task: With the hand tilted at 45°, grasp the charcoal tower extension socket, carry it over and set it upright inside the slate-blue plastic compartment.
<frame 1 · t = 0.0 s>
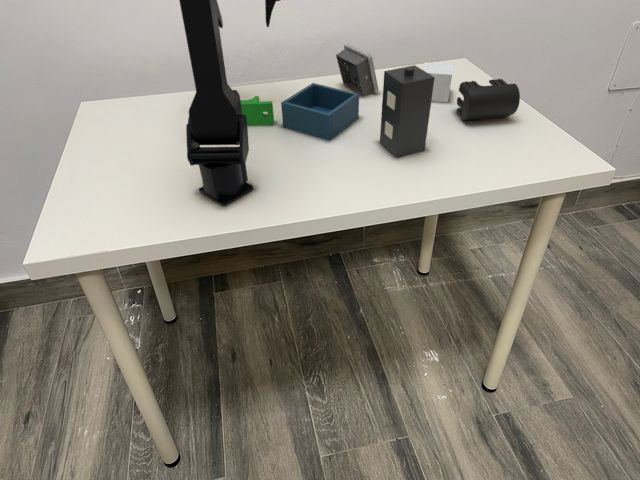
hand: (244, 26, 94), 15 cm above the table, tool pointing down, fingers open, 9 cm apart
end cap: (482, 118, 95), on the table
compartment: (321, 122, 95), on the table
electrical switch: (357, 90, 107), on the table
white cube: (434, 96, 104), on the table
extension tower: (401, 146, 87), on the table
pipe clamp: (247, 122, 97), on the table
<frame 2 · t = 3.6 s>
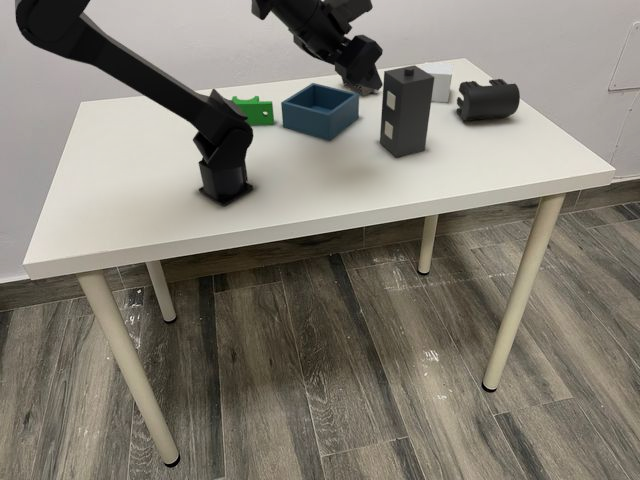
hand: (365, 77, 77), 14 cm above the table, tool tilted 45°, fingers open, 9 cm apart
nothing on the table moved.
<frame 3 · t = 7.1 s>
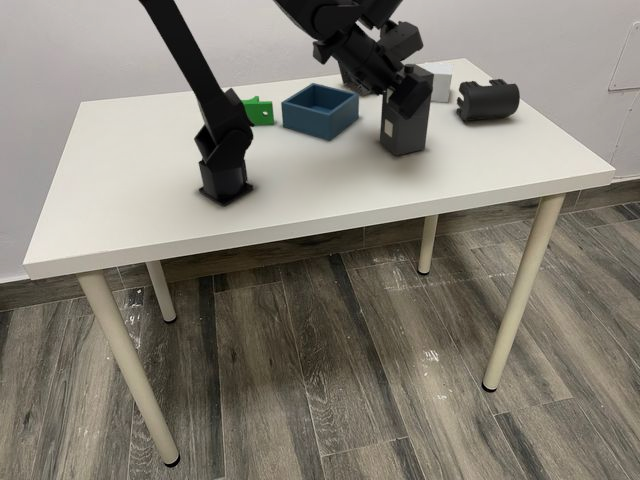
hand: (414, 106, 83), 8 cm above the table, tool tilted 45°, fingers closed on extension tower, 7 cm apart
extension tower: (401, 145, 87), on the table, touching gripper
everything else where it was.
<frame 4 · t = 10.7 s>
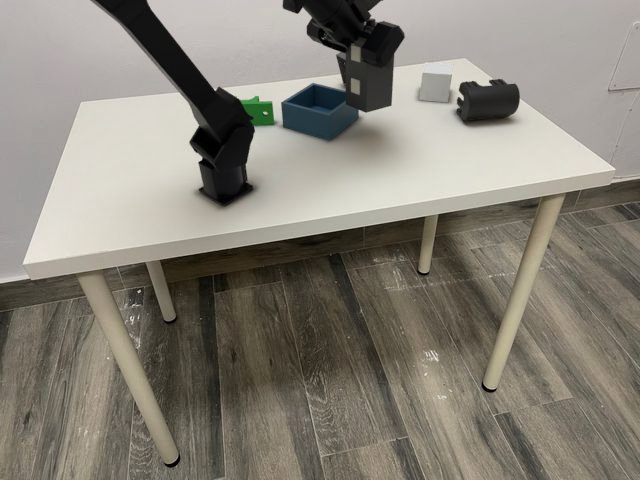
hand: (376, 61, 84), 13 cm above the table, tool tilted 45°, fingers closed on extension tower, 7 cm apart
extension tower: (368, 105, 87), point 6 cm above the table, tilted 6°, touching gripper
everything else where it was.
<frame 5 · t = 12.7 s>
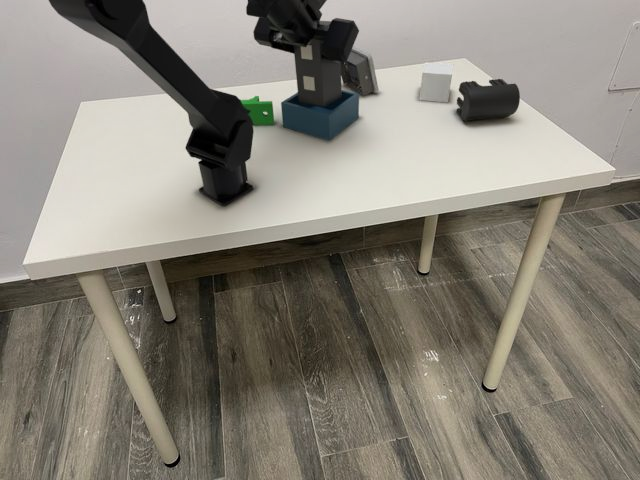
hand: (323, 57, 88), 12 cm above the table, tool tilted 45°, fingers closed on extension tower, 7 cm apart
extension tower: (320, 99, 91), point 5 cm above the table, tilted 6°, touching gripper
everything else where it was.
when the fingers open (8 cm above the table, at t = 14.4 s): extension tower stays where it is, resting on compartment.
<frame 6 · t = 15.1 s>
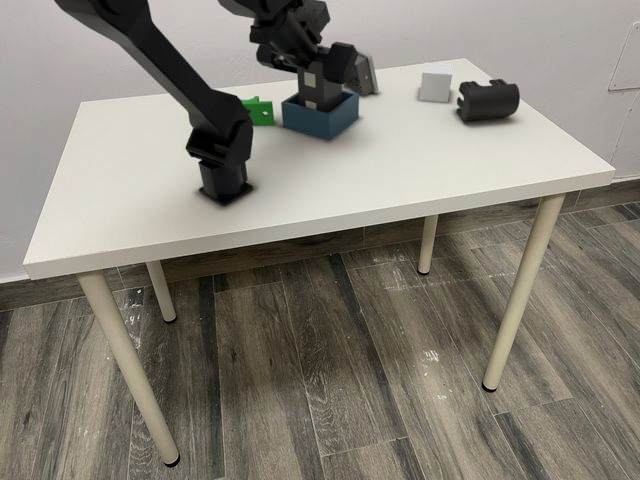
hand: (323, 77, 91), 9 cm above the table, tool tilted 45°, fingers open, 9 cm apart
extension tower: (321, 121, 94), point 1 cm above the table, touching compartment
everything else where it was.
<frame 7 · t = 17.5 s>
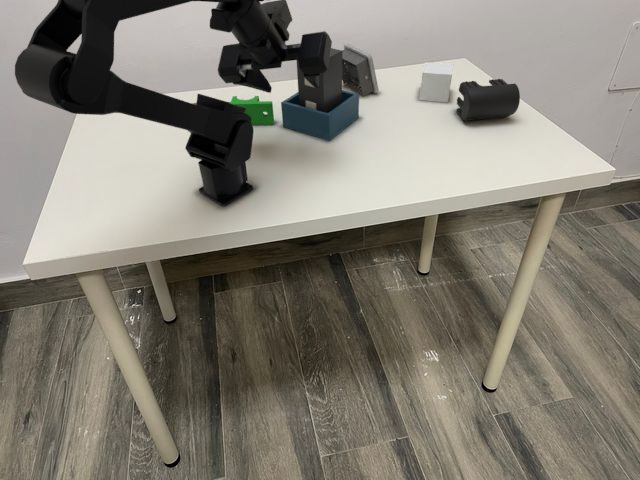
hand: (293, 88, 83), 10 cm above the table, tool tilted 35°, fingers open, 9 cm apart
nothing on the table moved.
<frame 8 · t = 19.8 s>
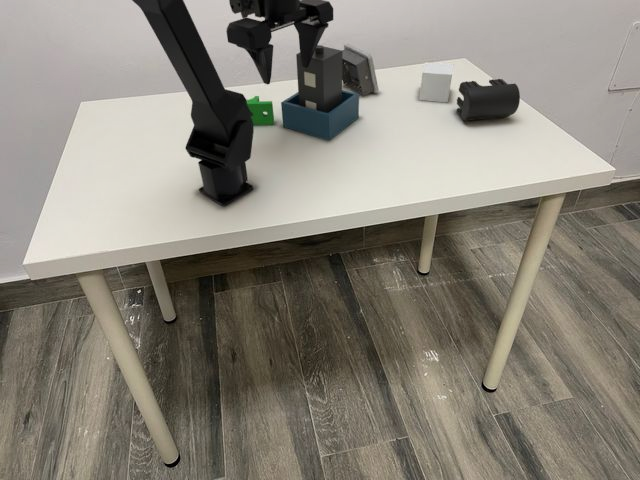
hand: (286, 75, 81), 13 cm above the table, tool pointing down, fingers open, 9 cm apart
nothing on the table moved.
at the end: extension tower inside the target area in the compartment (0.8 cm from its centre), point 0.6 cm above the compartment's base; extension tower tilted 0°; the gripper is holding nothing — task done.
